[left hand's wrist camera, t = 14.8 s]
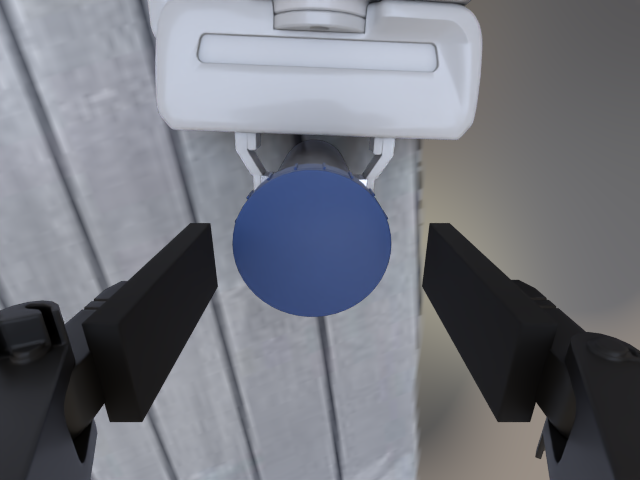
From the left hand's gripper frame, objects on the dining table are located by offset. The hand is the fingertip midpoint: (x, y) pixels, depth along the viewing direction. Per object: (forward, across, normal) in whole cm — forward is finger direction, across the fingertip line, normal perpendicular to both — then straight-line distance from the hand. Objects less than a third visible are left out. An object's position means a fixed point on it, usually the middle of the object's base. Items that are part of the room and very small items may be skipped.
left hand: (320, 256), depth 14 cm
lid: (+1, 0, 0) cm, 1 cm away
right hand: (+13, 0, -1) cm, 13 cm away
